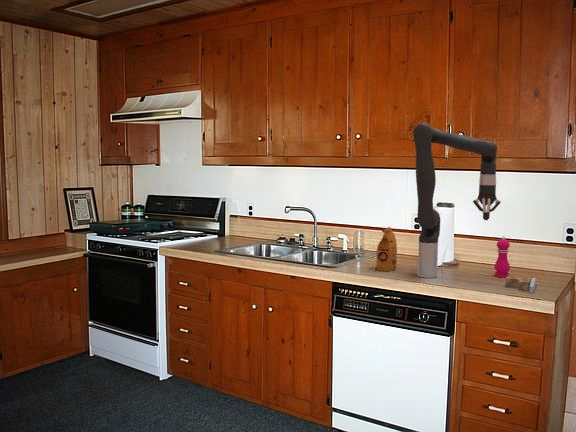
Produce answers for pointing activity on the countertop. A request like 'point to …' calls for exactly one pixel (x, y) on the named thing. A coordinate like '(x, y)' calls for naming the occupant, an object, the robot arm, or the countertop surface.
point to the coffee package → (387, 252)
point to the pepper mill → (502, 259)
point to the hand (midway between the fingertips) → (486, 220)
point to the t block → (518, 283)
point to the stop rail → (532, 285)
